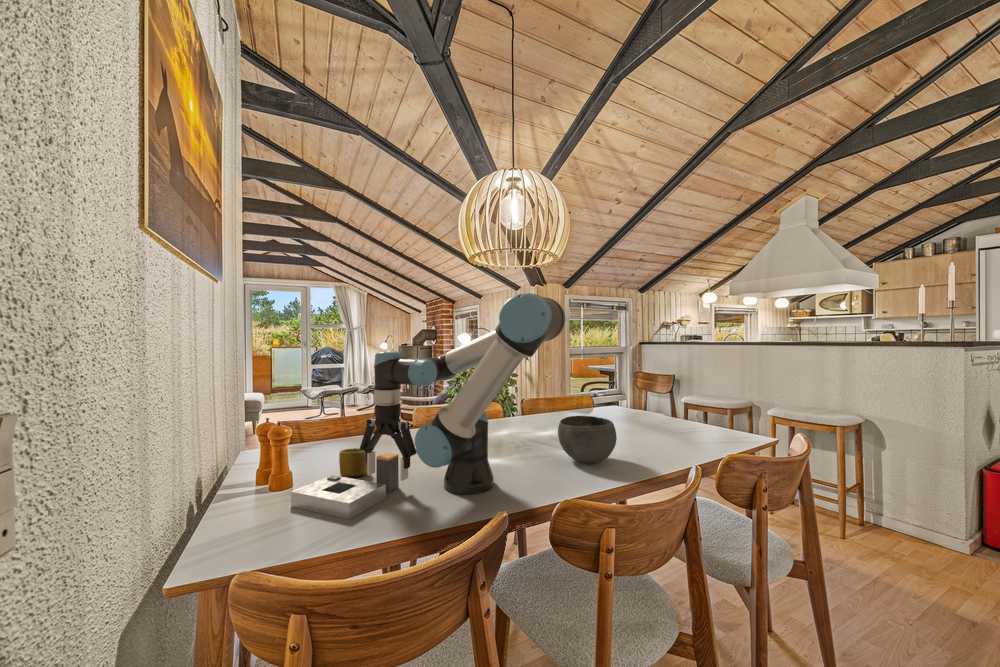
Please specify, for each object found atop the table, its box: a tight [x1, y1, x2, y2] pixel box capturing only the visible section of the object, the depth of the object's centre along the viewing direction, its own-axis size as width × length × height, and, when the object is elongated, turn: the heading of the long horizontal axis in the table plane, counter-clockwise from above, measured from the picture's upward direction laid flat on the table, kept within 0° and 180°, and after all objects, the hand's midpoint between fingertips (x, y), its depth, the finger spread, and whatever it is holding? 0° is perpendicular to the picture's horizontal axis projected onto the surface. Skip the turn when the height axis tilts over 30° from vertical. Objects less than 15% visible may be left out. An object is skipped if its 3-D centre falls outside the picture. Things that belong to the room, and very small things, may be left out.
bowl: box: [557, 415, 617, 465], centre depth 147 cm, size 21×21×15 cm
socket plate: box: [290, 474, 387, 520], centre depth 111 cm, size 20×14×5 cm
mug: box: [338, 447, 367, 478], centre depth 135 cm, size 12×10×10 cm
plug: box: [375, 452, 400, 494], centre depth 121 cm, size 4×4×10 cm
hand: (387, 476), depth 121 cm, fingers open, 11 cm apart
